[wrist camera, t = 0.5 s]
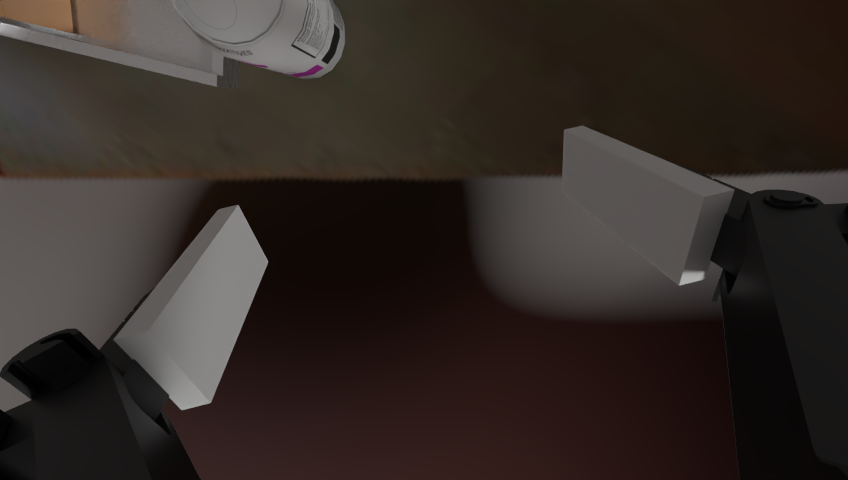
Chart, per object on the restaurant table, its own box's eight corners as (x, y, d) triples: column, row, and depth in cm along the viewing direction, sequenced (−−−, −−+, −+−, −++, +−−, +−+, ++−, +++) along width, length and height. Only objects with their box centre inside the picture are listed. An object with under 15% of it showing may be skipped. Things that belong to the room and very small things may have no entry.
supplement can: (304, 97, 36) (231, 87, 22) (243, 24, 33) (117, -40, 19) (363, 42, 34) (326, -7, 20) (304, -38, 32) (214, -159, 18)
